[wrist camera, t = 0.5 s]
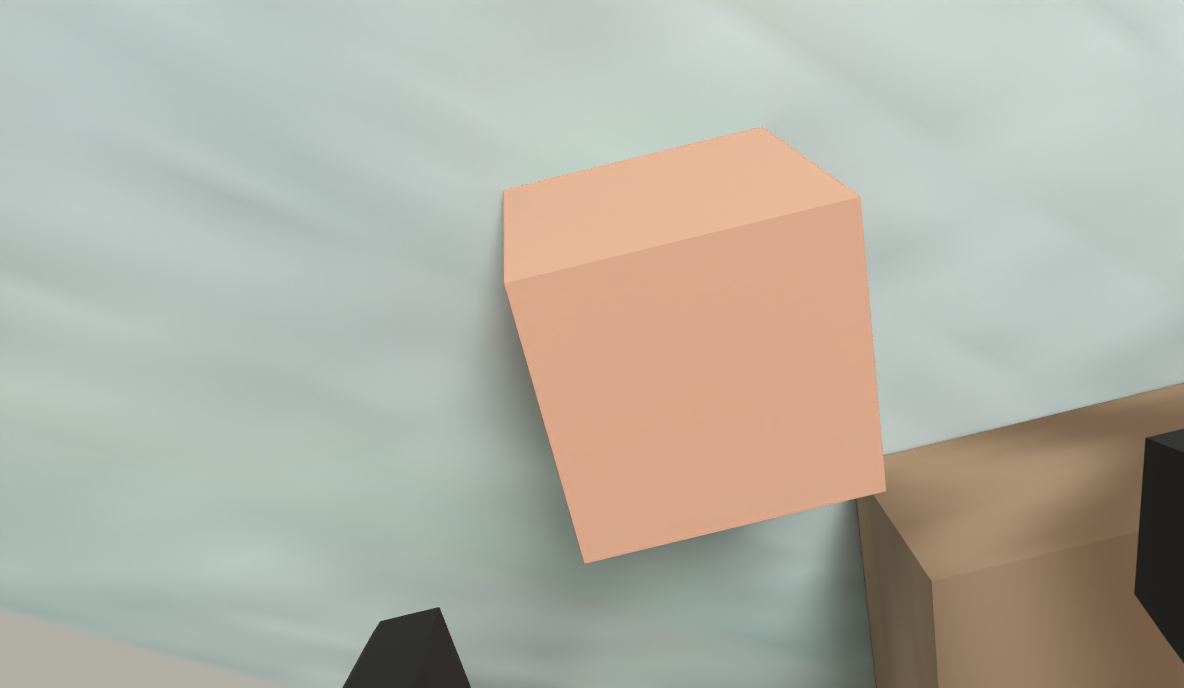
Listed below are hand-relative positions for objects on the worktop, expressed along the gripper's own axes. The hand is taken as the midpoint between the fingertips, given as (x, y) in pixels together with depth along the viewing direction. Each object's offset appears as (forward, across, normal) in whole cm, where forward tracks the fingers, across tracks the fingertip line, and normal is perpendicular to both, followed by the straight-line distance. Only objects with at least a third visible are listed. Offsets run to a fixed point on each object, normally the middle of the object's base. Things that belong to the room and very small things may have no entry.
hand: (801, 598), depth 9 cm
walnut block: (+9, -8, +10) cm, 16 cm away
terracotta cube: (+10, 0, 0) cm, 10 cm away
